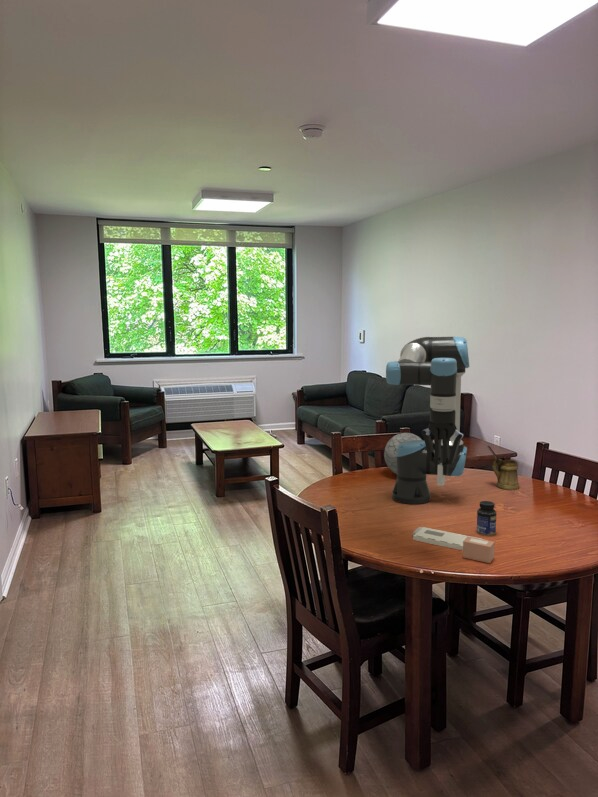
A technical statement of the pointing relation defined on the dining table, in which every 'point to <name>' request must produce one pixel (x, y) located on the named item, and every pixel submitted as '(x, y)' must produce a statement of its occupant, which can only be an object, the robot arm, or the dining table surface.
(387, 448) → the decorative sphere
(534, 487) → the dining table surface
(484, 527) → the pill bottle
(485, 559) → the stub
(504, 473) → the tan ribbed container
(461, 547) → the white grooved bar
